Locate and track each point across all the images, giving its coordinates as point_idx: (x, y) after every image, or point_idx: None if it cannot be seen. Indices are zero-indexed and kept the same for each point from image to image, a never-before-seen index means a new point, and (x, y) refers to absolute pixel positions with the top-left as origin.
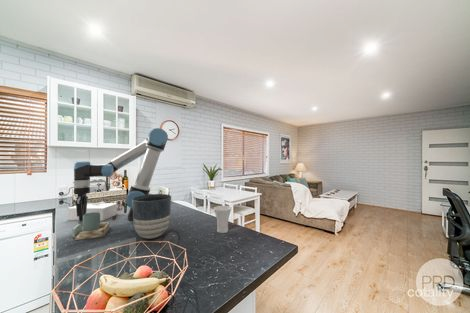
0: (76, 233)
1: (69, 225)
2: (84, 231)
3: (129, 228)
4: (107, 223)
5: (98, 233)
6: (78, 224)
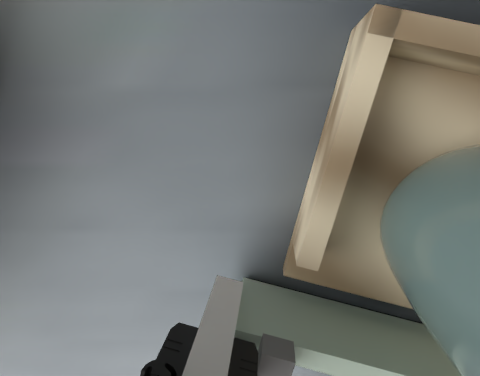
0: (411, 331)
1: (39, 356)
2: (377, 270)
3: None
4: (440, 36)
5: None
6: (326, 366)
